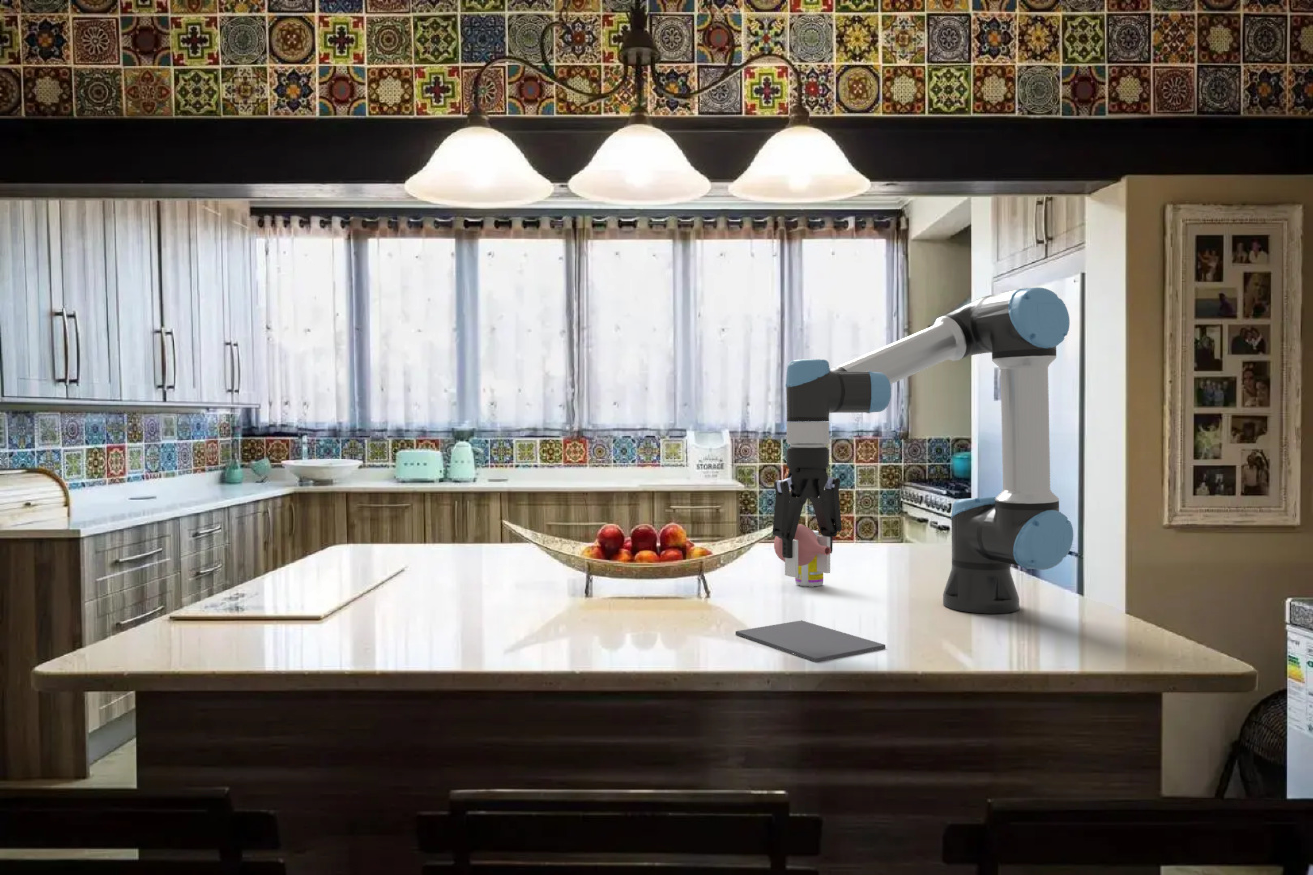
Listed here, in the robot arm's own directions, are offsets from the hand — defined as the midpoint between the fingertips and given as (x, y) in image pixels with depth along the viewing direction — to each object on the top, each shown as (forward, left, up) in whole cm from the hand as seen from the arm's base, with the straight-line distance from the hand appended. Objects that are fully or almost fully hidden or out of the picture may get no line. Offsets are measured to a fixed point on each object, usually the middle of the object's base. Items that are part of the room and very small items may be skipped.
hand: (807, 573), depth 160 cm
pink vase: (+6, -4, +5) cm, 8 cm away
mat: (0, 0, -12) cm, 12 cm away
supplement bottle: (+17, -51, -12) cm, 55 cm away
